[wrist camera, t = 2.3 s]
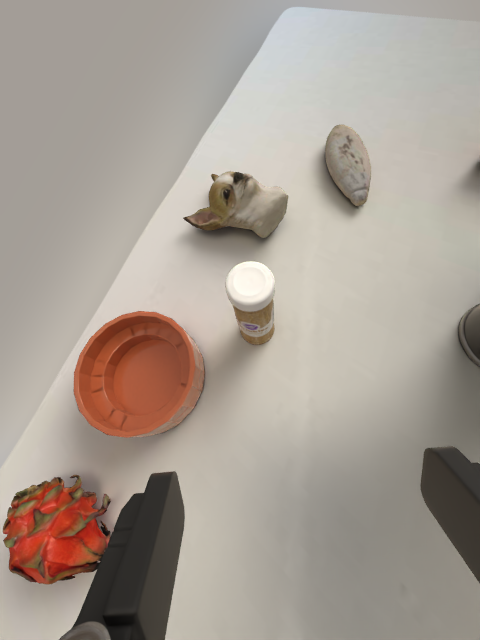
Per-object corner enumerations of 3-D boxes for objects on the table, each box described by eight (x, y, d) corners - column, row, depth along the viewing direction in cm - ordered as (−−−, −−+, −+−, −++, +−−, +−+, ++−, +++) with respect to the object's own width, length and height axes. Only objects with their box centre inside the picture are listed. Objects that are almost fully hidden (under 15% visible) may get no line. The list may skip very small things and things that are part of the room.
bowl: (157, 307, 42) (140, 290, 36) (228, 373, 37) (220, 364, 32) (80, 381, 39) (50, 374, 34) (146, 462, 34) (123, 468, 29)
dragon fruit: (54, 475, 37) (132, 530, 35) (-19, 550, 30) (73, 622, 28) (47, 444, 31) (139, 508, 30) (-43, 528, 25) (68, 614, 23)
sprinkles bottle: (241, 346, 38) (224, 305, 26) (240, 314, 40) (224, 261, 27) (276, 344, 38) (276, 302, 25) (273, 312, 39) (272, 257, 27)
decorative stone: (339, 213, 44) (344, 197, 41) (315, 142, 49) (317, 122, 46) (380, 205, 43) (389, 188, 40) (351, 134, 49) (356, 114, 46)
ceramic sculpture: (269, 219, 34) (166, 191, 38) (274, 261, 42) (187, 234, 46) (303, 155, 37) (203, 137, 42) (301, 206, 45) (217, 186, 49)
